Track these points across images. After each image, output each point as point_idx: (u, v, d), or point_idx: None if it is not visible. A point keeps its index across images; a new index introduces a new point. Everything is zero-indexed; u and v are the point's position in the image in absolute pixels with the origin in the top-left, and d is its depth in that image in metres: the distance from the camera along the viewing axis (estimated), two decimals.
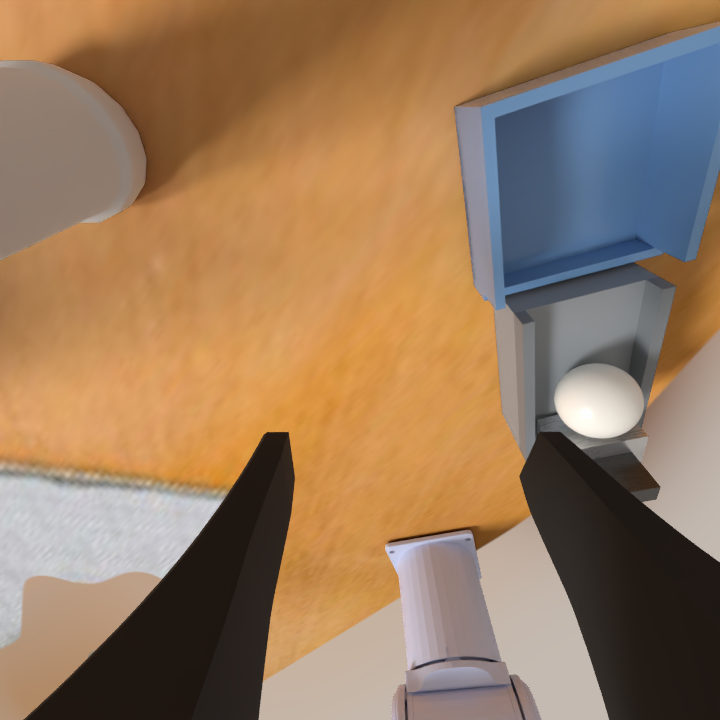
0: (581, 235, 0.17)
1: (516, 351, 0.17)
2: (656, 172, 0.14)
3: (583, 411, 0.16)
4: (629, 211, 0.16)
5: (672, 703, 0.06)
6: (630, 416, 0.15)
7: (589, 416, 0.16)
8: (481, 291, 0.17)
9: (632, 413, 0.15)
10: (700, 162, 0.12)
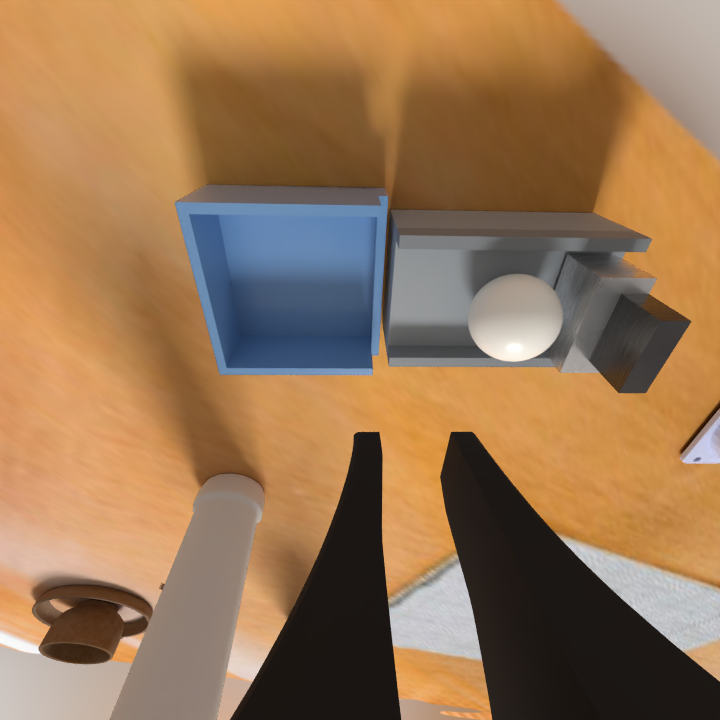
0: (354, 254, 0.17)
1: None
2: None
3: (497, 357, 0.14)
4: None
5: (528, 707, 0.06)
6: (521, 328, 0.13)
7: (504, 357, 0.14)
8: None
9: (519, 325, 0.13)
10: None
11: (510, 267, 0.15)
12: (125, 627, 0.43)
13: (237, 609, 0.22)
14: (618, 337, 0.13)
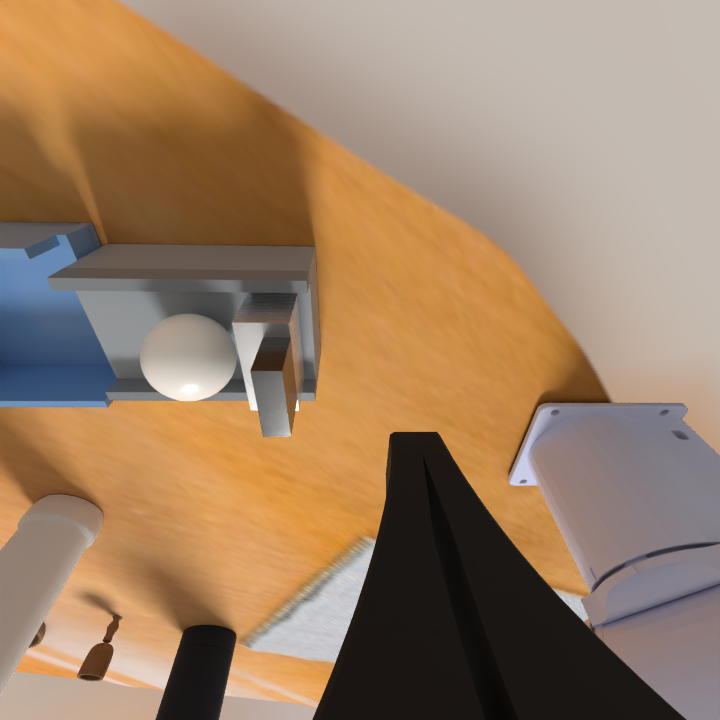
0: None
1: None
2: None
3: None
4: None
5: None
6: (159, 372, 0.13)
7: (170, 397, 0.14)
8: None
9: (156, 369, 0.13)
10: None
11: (200, 304, 0.15)
12: None
13: (25, 635, 0.22)
14: None
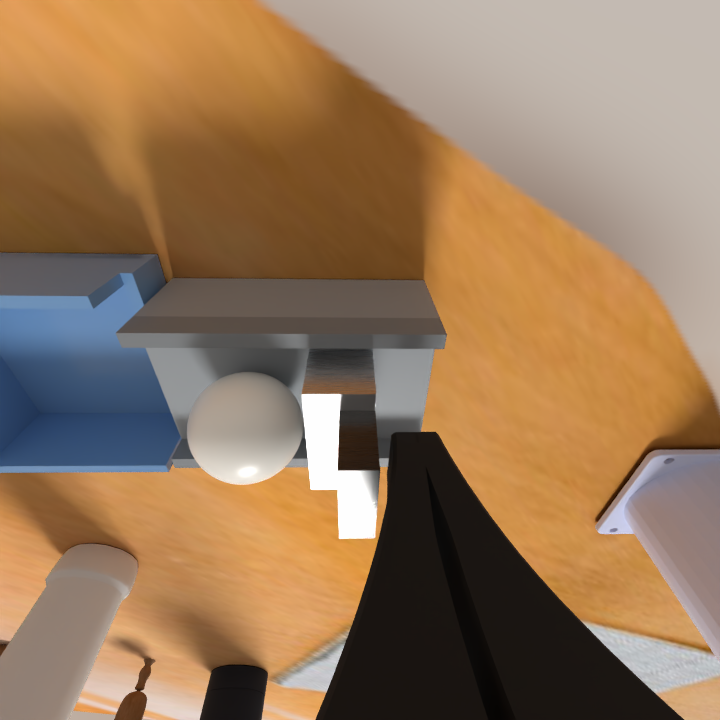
0: None
1: None
2: None
3: None
4: None
5: None
6: (189, 439, 0.10)
7: None
8: None
9: (189, 433, 0.10)
10: None
11: (296, 357, 0.12)
12: None
13: None
14: None
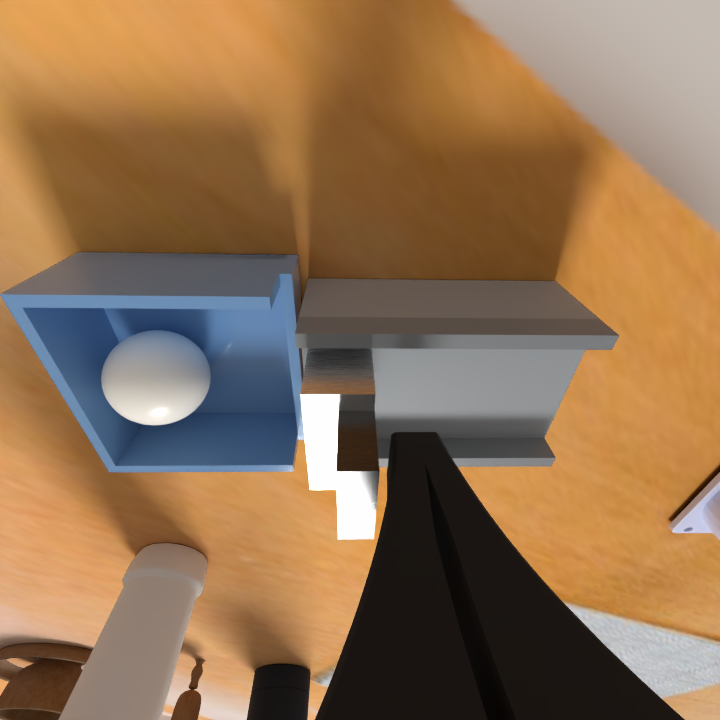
0: (269, 329, 0.14)
1: None
2: None
3: None
4: None
5: None
6: (112, 394, 0.12)
7: None
8: None
9: (110, 390, 0.12)
10: None
11: (447, 357, 0.12)
12: None
13: (156, 719, 0.19)
14: None
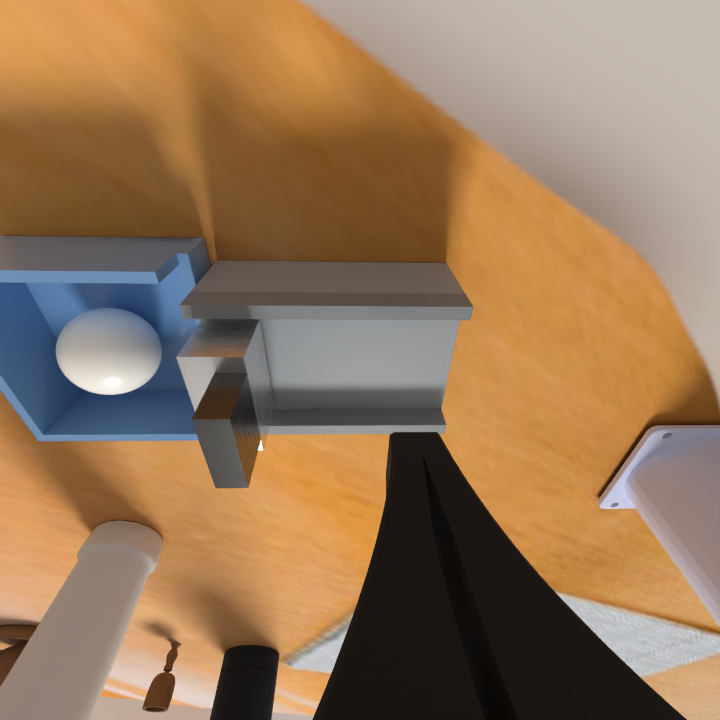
0: None
1: None
2: None
3: (106, 394, 0.14)
4: None
5: None
6: (98, 365, 0.13)
7: (109, 393, 0.14)
8: None
9: (94, 362, 0.13)
10: None
11: (334, 330, 0.13)
12: None
13: (99, 680, 0.20)
14: None
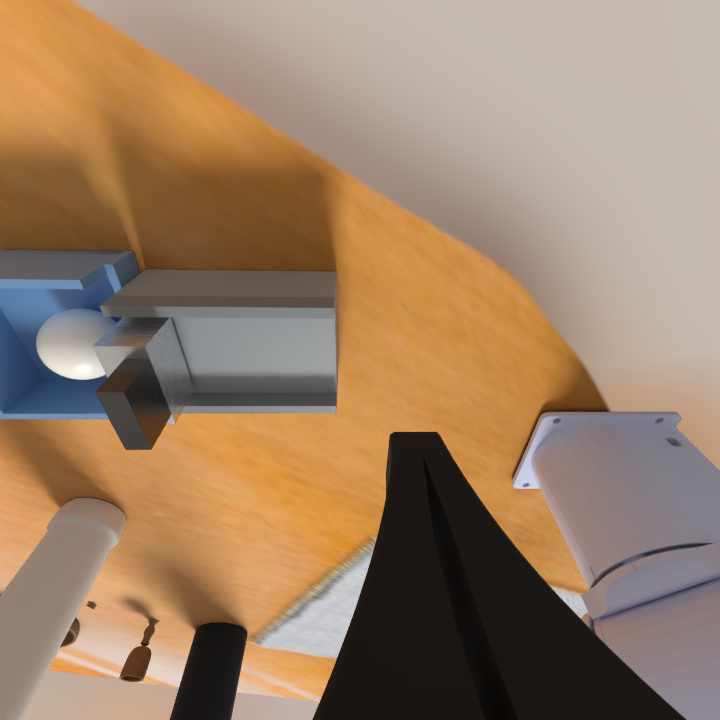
0: None
1: None
2: None
3: (99, 375, 0.17)
4: None
5: None
6: None
7: (103, 372, 0.17)
8: None
9: None
10: None
11: (234, 327, 0.16)
12: None
13: (60, 631, 0.23)
14: None
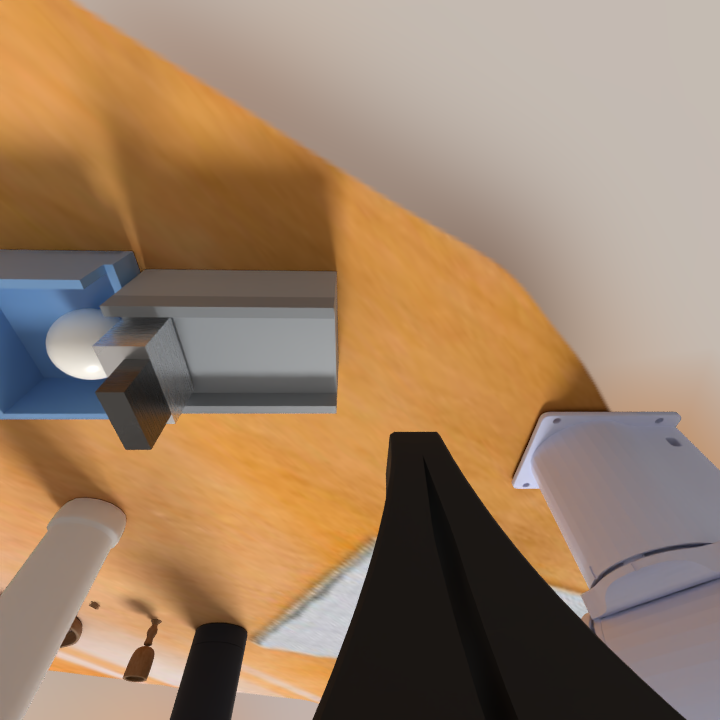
0: None
1: None
2: None
3: None
4: None
5: None
6: None
7: None
8: None
9: None
10: None
11: (234, 327, 0.16)
12: None
13: (59, 631, 0.23)
14: None
